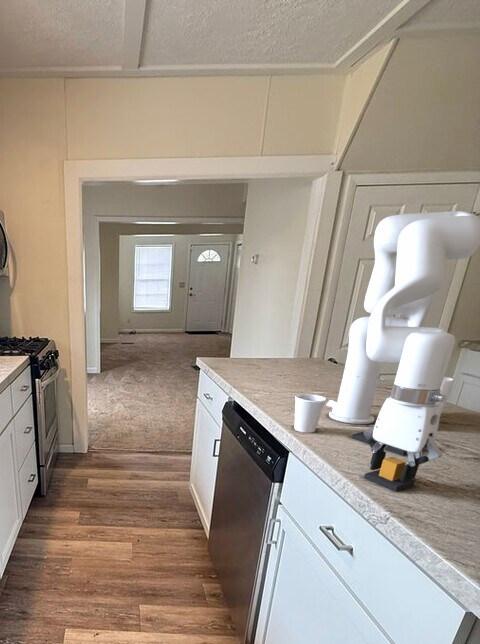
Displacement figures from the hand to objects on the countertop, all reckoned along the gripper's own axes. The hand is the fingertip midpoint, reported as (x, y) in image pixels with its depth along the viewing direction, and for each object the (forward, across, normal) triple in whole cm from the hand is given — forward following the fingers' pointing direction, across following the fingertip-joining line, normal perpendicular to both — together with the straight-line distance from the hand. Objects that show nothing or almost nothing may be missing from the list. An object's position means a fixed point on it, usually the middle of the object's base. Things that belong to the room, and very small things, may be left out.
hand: (390, 474), depth 88 cm
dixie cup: (+2, +33, -12) cm, 35 cm away
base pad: (+2, +15, -24) cm, 28 cm away
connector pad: (+2, 0, -1) cm, 2 cm away
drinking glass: (+2, +19, -46) cm, 50 cm away
